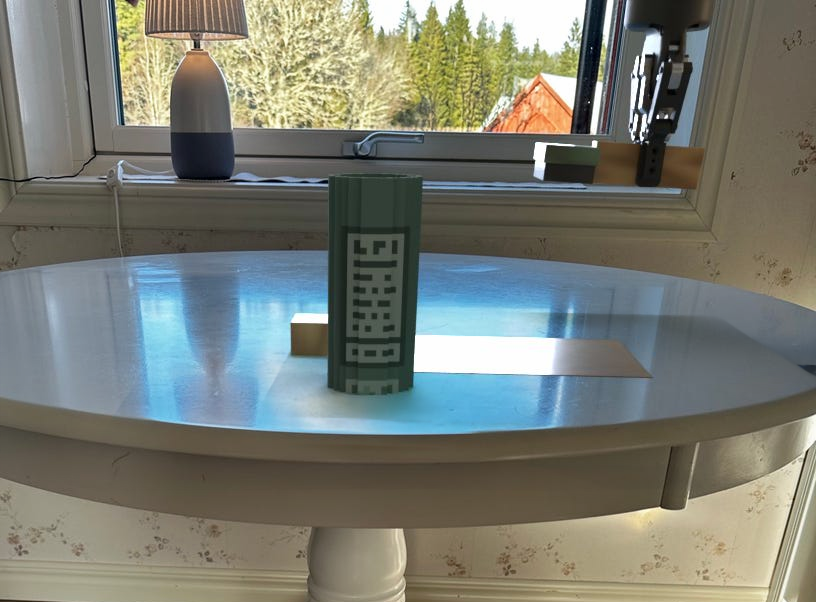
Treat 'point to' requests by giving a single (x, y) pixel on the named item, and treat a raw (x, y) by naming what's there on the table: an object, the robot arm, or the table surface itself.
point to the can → (373, 281)
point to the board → (525, 356)
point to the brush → (614, 164)
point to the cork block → (309, 335)
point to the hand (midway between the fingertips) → (643, 184)
